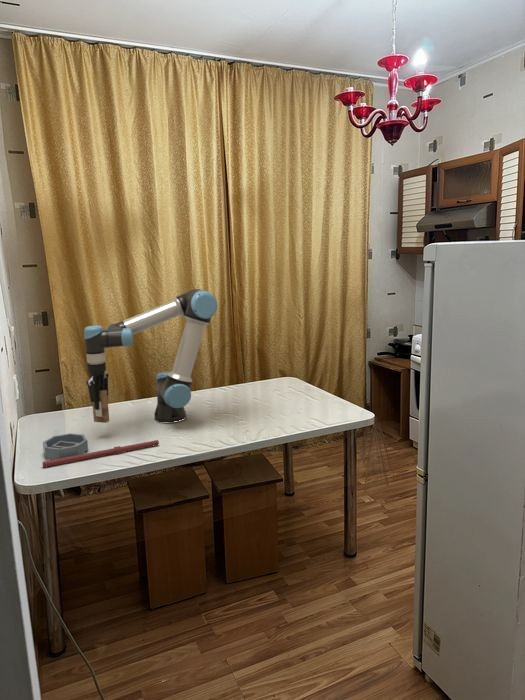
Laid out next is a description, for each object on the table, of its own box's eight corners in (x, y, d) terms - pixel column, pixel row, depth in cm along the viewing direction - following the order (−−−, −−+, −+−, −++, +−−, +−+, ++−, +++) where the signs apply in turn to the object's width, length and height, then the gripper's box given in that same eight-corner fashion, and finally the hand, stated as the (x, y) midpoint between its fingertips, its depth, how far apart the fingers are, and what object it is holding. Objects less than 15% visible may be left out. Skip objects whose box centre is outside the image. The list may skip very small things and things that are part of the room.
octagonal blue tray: (94, 447, 213) (94, 435, 212) (71, 462, 198) (70, 450, 197) (61, 443, 217) (60, 432, 216) (35, 458, 202) (34, 446, 201)
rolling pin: (157, 444, 216) (156, 437, 215) (159, 447, 213) (159, 440, 213) (42, 466, 195) (42, 459, 195) (43, 470, 193) (42, 462, 192)
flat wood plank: (109, 420, 222) (106, 390, 219) (106, 422, 220) (103, 391, 217) (97, 419, 224) (94, 389, 221) (94, 421, 221) (91, 390, 218)
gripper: (98, 357, 225) (103, 408, 230) (77, 366, 210) (82, 420, 215) (114, 358, 223) (118, 409, 228) (93, 367, 208) (98, 421, 213)
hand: (101, 414), depth 221 cm, fingers closed on flat wood plank, 2 cm apart
